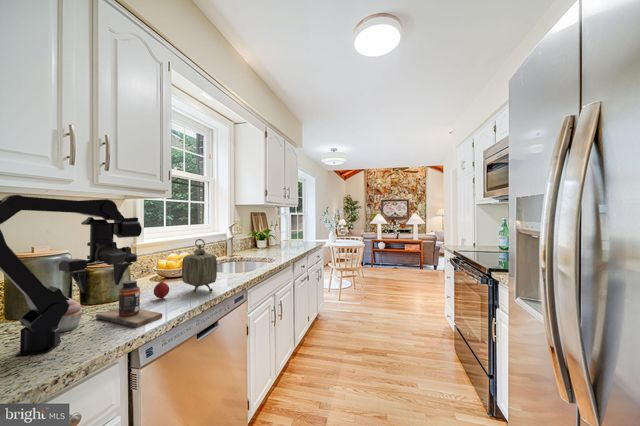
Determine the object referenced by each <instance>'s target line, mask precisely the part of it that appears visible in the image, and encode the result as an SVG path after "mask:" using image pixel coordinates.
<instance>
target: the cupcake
mask: <svg viewBox="0 0 640 426" xmlns="http://www.w3.org/2000/svg"><path fill="white" fill-rule="evenodd" d="M68 298H69V300H66V301H67V302H68V303H69V308H68V311H67V312H66V314H65V315H63V316H62V318H61V320H60V322H59V325H58V328H60V333H63V332H68V331H71V330H74V329H76V328H78V327H79V325H80V322H81V319H82V315H83V314H84V312H85V310H86V309H85V308H84V309H83V308H82V305H81V304H80V302H78V301H74V300H73V299H72V298H70V297H68Z"/></svg>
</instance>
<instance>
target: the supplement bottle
mask: <svg viewBox="0 0 640 426" xmlns="http://www.w3.org/2000/svg"><path fill="white" fill-rule="evenodd" d="M137 282H138V281H137V280H135V279H134V280H133V279H131V280H125V281H123V282H122V287H121V288H120V289H119V294H118V308H119V315H120V316H131V315H135V314H137V313H138V312H139V309H141V308H140V307H141V306H140V304H141V303H140V302H141V289H140V286H138V283H137Z"/></svg>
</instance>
